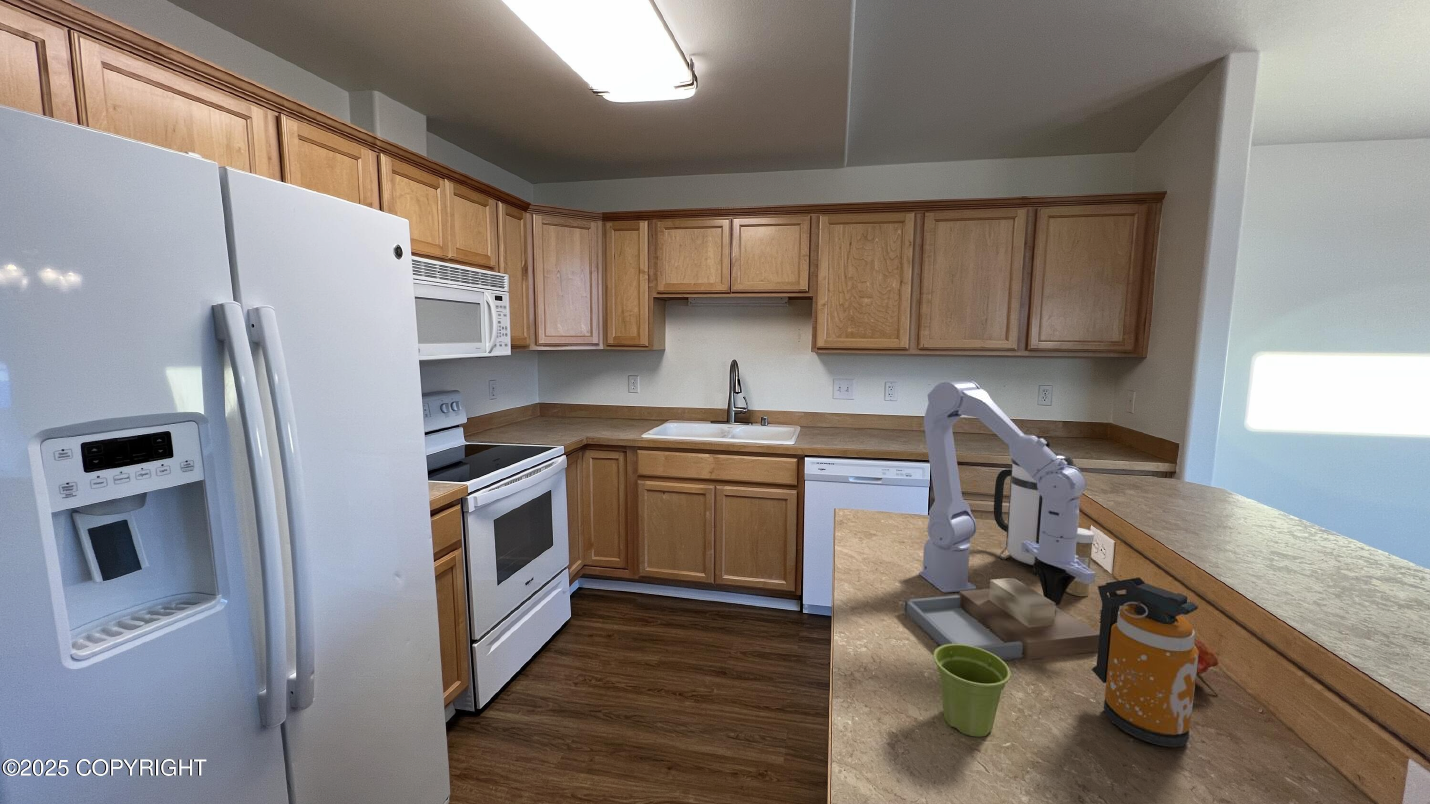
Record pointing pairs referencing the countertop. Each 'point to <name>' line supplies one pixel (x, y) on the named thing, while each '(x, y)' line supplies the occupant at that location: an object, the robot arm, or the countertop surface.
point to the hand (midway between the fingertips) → (1052, 603)
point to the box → (957, 626)
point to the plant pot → (970, 686)
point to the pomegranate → (1204, 659)
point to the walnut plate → (1031, 628)
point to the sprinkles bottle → (1082, 561)
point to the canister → (1147, 661)
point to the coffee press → (1021, 509)
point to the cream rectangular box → (1022, 602)
